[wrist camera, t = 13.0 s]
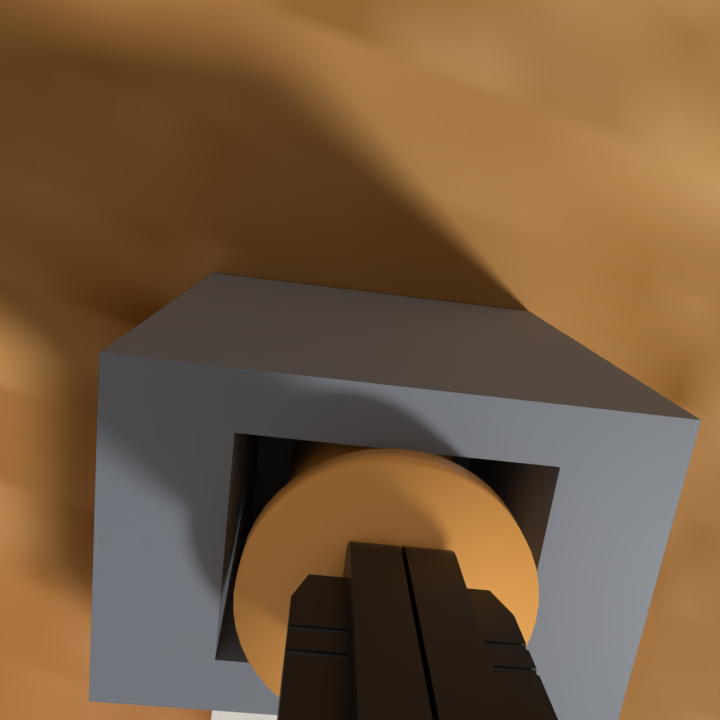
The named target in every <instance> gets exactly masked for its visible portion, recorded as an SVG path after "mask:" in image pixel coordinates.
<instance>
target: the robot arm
mask: <svg viewBox="0 0 720 720" xmlns="http://www.w3.org/2000/svg"><path fill="white" fill-rule="evenodd" d="M536 670H537V668H536V666H535V664H534V661H533V659H532V657H531V654H530V652H529V650H526V642H525V640H524V638H523V635H522V633H521V630H520V628H519V626H518V623H517V621H516V619H515V616H514V615H513V614H512V613H511V612H510V611H509V610H508V609H507V608H506V607H505V606H504V605H503V604H502V603H501V602H500V601H499V599H498V598H497V597H496V596H495V595H494V594H493V593H492V592H491V591H490V590H480V589H469V588H467V587H466V584H465V581H464V578H463V575H462V572H461V569H460V566H459V563H458V560H457V557H456V554H455V552H454V551H451V550H441V549H430V548H420V547H409V546H402V547H401V548H400V546H396V545H386V544H375V543H365V542H354V541H349V542H348V545H347V549H346V556H345V563H344V570H343V577H334V576H323V575H312V574H308V576H307V577H306V578H305V579H304V581H303V582H302V583H301V584H300V586H299V587H298V588H297V589H296V591H295V592H294V593H293V594H292V596H291V601H290V609H289V618H288V626H287V635H286V643H285V652H284V661H283V669H282V678H281V686H280V695H279V705H278V714H277V720H558V718H557V716H556V713H555V711H554V709H553V706H552V704H551V702H550V699H549V697H548V694H547V692H546V690H545V687H544V685H543V683H542V680H541V678H540V676H539V675H537V673H536Z"/></svg>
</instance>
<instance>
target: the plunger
mask: <svg viewBox="0 0 720 720" xmlns="http://www.w3.org/2000/svg"><path fill="white" fill-rule="evenodd" d="M349 541H354V542H365V543H375V544H386V545H396V546H400V548H401V547H402V546H409V547H420V548H430V549H441V550H451V551H454V552H455V554H456V557H457V560H458V563H459V566H460V569H461V572H462V575H463V578H464V581H465V584H466V587H467V588H469V589H480V590H490V591H491V592H492V593H493V594H494V595H495V596H496V597H497V598H498V599H499V601H500V602H501V603H502V604H503V605H504V606H505V607H506V608H507V609H508V610H509V611H510V612H511V613H512V614H513V615H514V616H515V619H516V621H517V623H518V626H519V628H520V630H521V633H522V635H523V638H524V640H525V642H526V647H527V644H528V642H529V640H530V638H531V635H532V632H533V629H534V625H535V622H536V618H537V611H538V604H539V583H538V577H537V570H536V566H535V562H534V559H533V556H532V553H531V550H530V548H529V546H528V544H527V542H526V540H525V538H524V536H523V534H522V532H521V530H520V528H519V526H518V525H517V523H516V521H515V519H514V517H513V515H512V514H511V512H510V511H509V509H508V508H507V506H506V505H505V503H504V502H503V500H502V499H501V498H500V497H499V496H498V495H497V494H496V493H495V492H494V491H493V489H492V488H491V487H490V486H488V485H487V484H486V483H485V482H484V481H482V480H481V479H480V478H479V477H478V476H476V475H475V474H473V473H472V472H470V471H468V470H467V469H465V468H463V467H462V466H460V465H458V464H456V463H454V462H453V460H452V458H451V456H450V455H441V454H431V453H425V452H420V451H414V450H408V449H393V448H374V447H365V446H355V445H346V444H336V443H327V442H317V441H308V440H298V439H297V441H296V443H295V446H294V449H293V452H292V455H291V461H290V467H289V473H288V480H287V484H286V485H285V486H284V487H283V488H282V489H281V490H279V491H278V492H277V493H276V495H275V496H274V497H273V498H272V499H271V500H270V501H269V502H268V503H267V504H266V506H265V507H264V509H263V510H262V512H261V513H260V514H259V516H258V517H257V519H256V520H255V522H254V524H253V527H252V529H251V531H250V533H249V535H248V537H247V540H246V543H245V546H244V549H243V552H242V556H241V560H240V564H239V568H238V572H237V577H236V583H235V589H234V606H233V612H234V619H235V626H236V631H237V634H238V638H239V641H240V644H241V647H242V649H243V651H244V653H245V655H246V658H247V660H248V662H249V663H250V665H251V666H252V668H253V669H254V671H255V672H256V674H257V675H258V676H259V678H260V679H261V680H262V681H263V682H264V683H265V685H266V686H267V687H268V688H269V689H270V690H271V691H272V692H273V693H275V694H276V695H277V696H278V697H279V695H280V686H281V678H282V669H283V661H284V652H285V643H286V635H287V626H288V618H289V609H290V601H291V596H292V594H293V593H294V592H295V591H296V589H297V588H298V587H299V586H300V584H301V583H302V582H303V581H304V579H305V578H306V577H307V576H308V574H312V575H323V576H334V577H343V570H344V563H345V556H346V549H347V545H348V542H349Z"/></svg>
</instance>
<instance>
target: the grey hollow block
mask: <svg viewBox="0 0 720 720" xmlns="http://www.w3.org/2000/svg"><path fill="white" fill-rule="evenodd" d="M700 422H701V420H700V419H698V418H697V417H695V416H694V415H692V414H690V413H689V412H687V411H686V410H684V409H682V408H681V407H679V406H678V405H676V404H675V403H673V402H671V401H670V400H668V399H667V398H665V397H664V396H662V395H660V394H659V393H657V392H656V391H654V390H652V389H651V388H649V387H648V386H646V385H645V384H643V383H641V382H640V381H638V380H637V379H635V378H634V377H632V376H630V375H629V374H627V373H626V372H624V371H622V370H621V369H619V368H618V367H616V366H615V365H613V364H611V363H610V362H608V361H607V360H605V359H604V358H602V357H600V356H599V355H597V354H596V353H594V352H592V351H591V350H589V349H588V348H586V347H585V346H583V345H581V344H580V343H578V342H577V341H575V340H574V339H572V338H570V337H569V336H567V335H566V334H564V333H562V332H561V331H559V330H558V329H556V328H555V327H553V326H551V325H550V324H548V323H547V322H545V321H544V320H542V319H540V318H539V317H537V316H536V315H534V314H533V313H531V312H529V311H522V310H514V309H505V308H497V307H489V306H481V305H473V304H465V303H456V302H448V301H440V300H432V299H424V298H415V297H407V296H399V295H391V294H383V293H375V292H366V291H358V290H350V289H342V288H334V287H326V286H317V285H309V284H301V283H293V282H285V281H276V280H268V279H260V278H252V277H244V276H236V275H227V274H219V273H211V274H210V275H209V276H207V277H206V278H204V279H203V280H201V281H200V282H199V283H197V284H196V285H194V286H193V287H192V288H190V289H189V290H187V291H186V292H184V293H183V294H182V295H180V296H179V297H177V298H176V299H174V300H173V301H172V302H170V303H169V304H167V305H166V306H165V307H163V308H162V309H160V310H159V311H157V312H156V313H155V314H153V315H152V316H150V317H149V318H148V319H146V320H145V321H143V322H142V323H140V324H139V325H138V326H136V327H135V328H133V329H132V330H130V331H129V332H128V333H126V334H125V335H123V336H122V337H121V338H119V339H118V340H116V341H115V342H113V343H112V344H111V345H109V346H108V347H106V348H105V349H104V350H102V351H101V352H99V373H98V408H97V443H96V478H95V513H94V547H93V583H92V617H91V652H90V687H89V701H93V702H107V703H120V704H133V705H147V706H160V707H173V708H187V709H200V710H213V711H227V712H240V713H253V714H267V715H277V714H278V705H279V697H278V696H277V695H276V694H275V693H273V692H272V691H271V690H270V689H269V688H268V687H267V686H266V685H265V683H264V682H263V681H262V680H261V679H260V678H259V676H258V675H257V674H256V672H255V671H254V669H253V668H252V666H251V665H250V663H249V662H248V660H247V658H246V655H245V653H244V651H243V649H242V647H241V644H240V641H239V638H238V634H237V631H236V626H235V619H234V612H233V606H234V589H235V583H236V577H237V572H238V568H239V564H240V560H241V556H242V552H243V549H244V546H245V543H246V540H247V537H248V535H249V533H250V531H251V529H252V527H253V524H254V522H255V520H256V519H257V517H258V516H259V514H260V513H261V512H262V510H263V509H264V507H265V506H266V504H267V503H268V502H269V501H270V500H271V499H272V498H273V497H274V496H275V495H276V493H277V492H278V491H279V490H281V489H282V488H283V487H284V486H285V485H286V484H287V480H288V473H289V467H290V461H291V455H292V452H293V449H294V446H295V443H296V441H297V439H298V440H308V441H317V442H327V443H336V444H346V445H355V446H365V447H374V448H393V449H408V450H414V451H420V452H425V453H431V454H441V455H450V456H451V458H452V460H453V462H454V463H456V464H458V465H460V466H462V467H463V468H465V469H467V470H468V471H470V472H472V473H473V474H475V475H476V476H478V477H479V478H480V479H481V480H482V481H484V482H485V483H486V484H487V485H488V486H490V487H491V488H492V489H493V491H494V492H495V493H496V494H497V495H498V496H499V497H500V498H501V499H502V500H503V502H504V503H505V505H506V506H507V508H508V509H509V511H510V512H511V514H512V515H513V517H514V519H515V521H516V523H517V525H518V526H519V528H520V530H521V532H522V534H523V536H524V538H525V540H526V542H527V544H528V546H529V548H530V550H531V553H532V556H533V559H534V562H535V566H536V570H537V577H538V583H539V604H538V611H537V618H536V622H535V625H534V629H533V632H532V635H531V638H530V640H529V642H528V644H527V647H526V650H529V652H530V654H531V657H532V659H533V661H534V664H535V666H536V668H537V670H536V673H537V675H539V676H540V678H541V680H542V683H543V685H544V687H545V690H546V692H547V694H548V697H549V699H550V702H551V704H552V706H553V709H554V711H555V713H556V716H557V718H558V720H618V718H619V715H620V711H621V708H622V704H623V700H624V697H625V693H626V690H627V686H628V682H629V679H630V675H631V671H632V668H633V664H634V661H635V657H636V653H637V650H638V646H639V642H640V639H641V635H642V632H643V628H644V624H645V621H646V617H647V614H648V610H649V606H650V603H651V599H652V595H653V592H654V588H655V585H656V581H657V577H658V574H659V570H660V567H661V563H662V559H663V556H664V552H665V548H666V545H667V541H668V538H669V534H670V530H671V527H672V523H673V519H674V516H675V512H676V509H677V505H678V501H679V498H680V494H681V491H682V487H683V483H684V480H685V476H686V472H687V469H688V465H689V462H690V458H691V454H692V451H693V447H694V444H695V440H696V436H697V433H698V429H699V425H700Z"/></svg>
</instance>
